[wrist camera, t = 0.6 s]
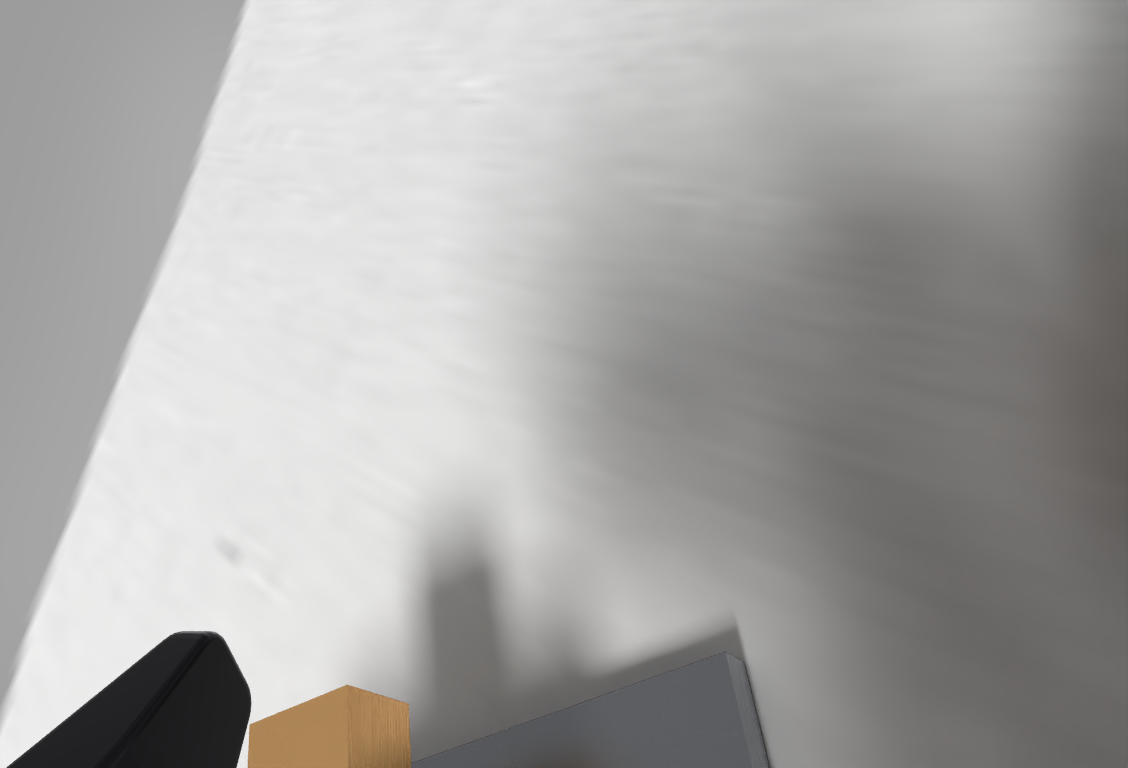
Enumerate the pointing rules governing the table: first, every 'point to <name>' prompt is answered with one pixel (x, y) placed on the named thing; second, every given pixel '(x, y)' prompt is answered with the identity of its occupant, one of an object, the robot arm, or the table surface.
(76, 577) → the table surface
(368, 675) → the table surface
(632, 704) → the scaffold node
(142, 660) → the robot arm
